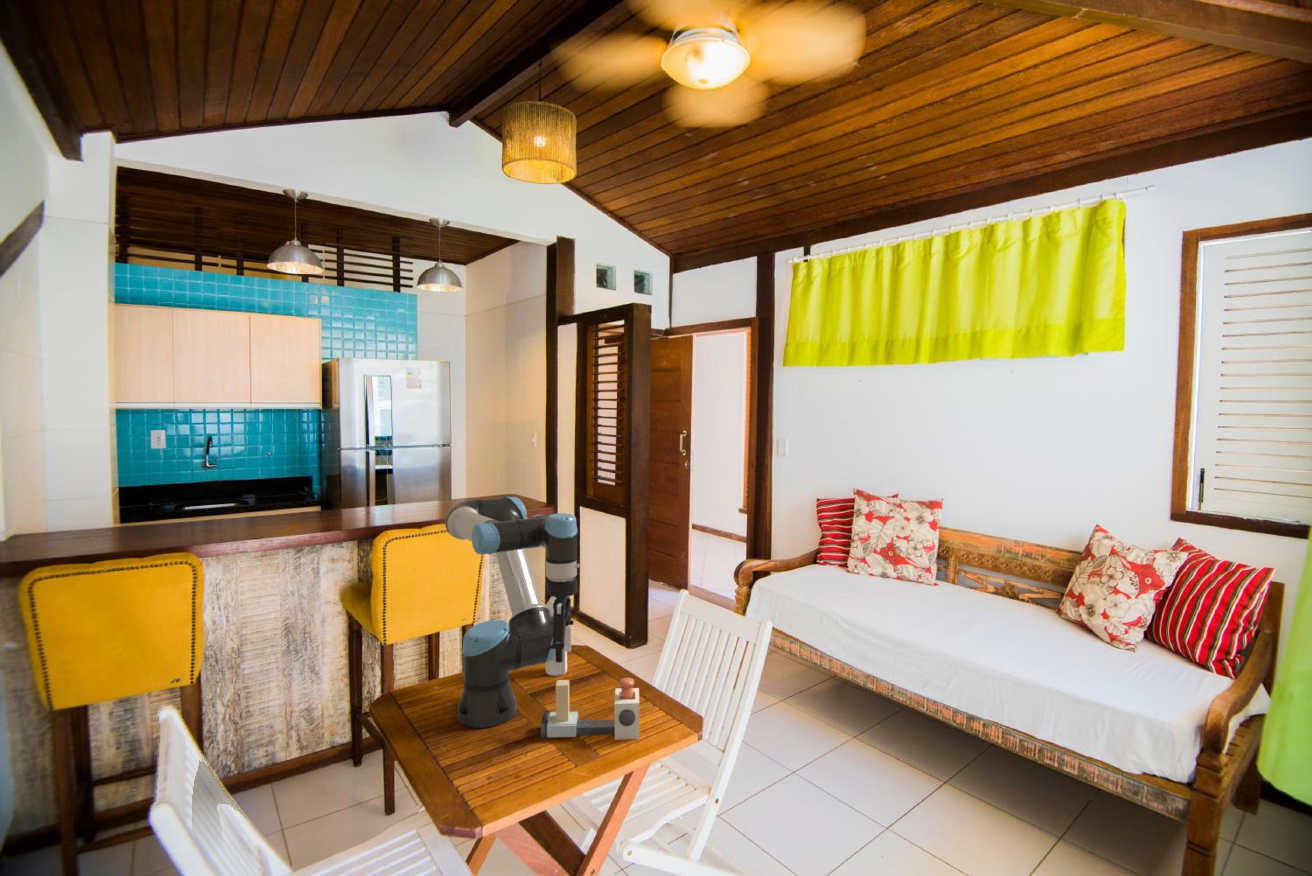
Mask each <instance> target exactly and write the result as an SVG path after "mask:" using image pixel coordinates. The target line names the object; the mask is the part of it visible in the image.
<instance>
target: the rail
mask: <svg viewBox="0 0 1312 876" xmlns="http://www.w3.org/2000/svg"><path fill="white" fill-rule="evenodd" d="M543 711H544V712H543V714H542V718H541V722H540V739H541V740H546V738H547V723H548V719H549V710H543ZM577 736H615V718H614V719H578V720H577V725H576V737H577Z"/></svg>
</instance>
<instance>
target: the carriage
mask: <svg viewBox="0 0 1312 876" xmlns="http://www.w3.org/2000/svg"><path fill="white" fill-rule="evenodd" d="M577 720H579V711H570V679H558V680H556V684H555V711H550V713H549V714H548V723H547V736H546V738H572V737H573V738H574V737H577V736H576V725H577Z"/></svg>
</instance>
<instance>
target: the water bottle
mask: <svg viewBox="0 0 1312 876" xmlns="http://www.w3.org/2000/svg"><path fill="white" fill-rule="evenodd" d="M555 599H556V597H554V596H550V598H549V599H548V601H547V603H546V604H545V607H547V608H548V609H549V611H550V615H551V617H552V616H553V615H554V609H553V603H554V601H555ZM567 672H568V652H565V674H566V673H567ZM545 674H546V675H549V676H555V677H556V676H559V675H554V661H549V662H546V663H545Z"/></svg>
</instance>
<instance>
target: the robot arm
mask: <svg viewBox="0 0 1312 876" xmlns="http://www.w3.org/2000/svg"><path fill="white" fill-rule="evenodd" d="M444 527H445V528H446V531H447V533H448V534H449V535H450V536H451V537H453V538H454V539H457V540H462V541H465V540H467V541H470V542H471V545H472V548H473V550H474V552H475V554H478V555H493V554H495V556H496V560H497V564H498V567H499V572H500V574H501V575H500V576H501V579H502V583H503V587H504V590H505V593H506V597H507V602H508V605H509V608H510V611H511V616H510V619H509V620H508V622H507V621H505V620H502V619H497V620H495V619H492V620H487V621H484V622H483V621H482V622H480V623H477V624H475V625H473V626H471V627H470V628H469V629H468V630H467V631H466V632H465V633H464V635H463V640H462V641H463V642H462V652H461V653H462V655H463V656H462V660H463V662H462V665H463V667H462V668H463V669H462V671H463V689H462V692H461V696H460V698H459V701H458V706H457V709H456V713H457V714H456V716H457V721H458V722H459V723H460V724H462V725H463V726H465V727H469V728H475V729H476V728H477V729H478V728H479V729H483V728H491V727H495V726H498V725H501V724H505V723H507V722H508V721H509V720H511V719H512V718H513V717H514V716H515V715H516V713H517V699H516V696H515V694H514V691H513V688H512V685H511V683H510V672H511V671H515V670H520V669H524V668H530V667H534V666H537V665H542V664H543V665H544V664H545V665H546V662H549V661H554V675H558V676H561V675H562V676H563V675H566V673H565V652H567V653H569V652H570V653H571V652H572V633H571V632H572V628H571V627H572V625H574V620H572V609H571V604H572V602H571V601H572V599H571V596H574V595H576V594H577V593H578V578H577V575H578V568H580V566H581V565H580V563H577V561H578V555H577V554H578V526H577V517H576V516H575V515H574V514H571V513H565V512H564V513H554V514H553V513H552V514H549V515H546V514H536V515H534V516H532V517H530V518H528V512H527V509H526V507H525V505H524V503H523V502H522V500H520V498H518V497H516V496H501V497H494V498H482V499H480V498H479V499H468V500H465V501H462V502H459V503H457V504H455V505H454V506H453V507H452V508H451V509H449V511H448V512H447V514H446V516H445V521H444ZM534 548H535V549H536V548H544V549H545V577H546V583H545V584H546V585H545V586H546V589H545V590H546V594H547V595H548V596H550V597H551V596H554V597H556V599H555V601H554V603H553V609H554V615H553V616H552V617H551V615H550V611H549V609H548V608H547V607H546V605H543V604H542V601H541V597H540V595H539V591H538V588H537V584H536V581H535V578H534V575H533V571H532V568H531V565H530V561H529V559H528V555H527V551H526V550H528V549H529V550H530V549H534ZM554 675H553V676H554Z"/></svg>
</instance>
